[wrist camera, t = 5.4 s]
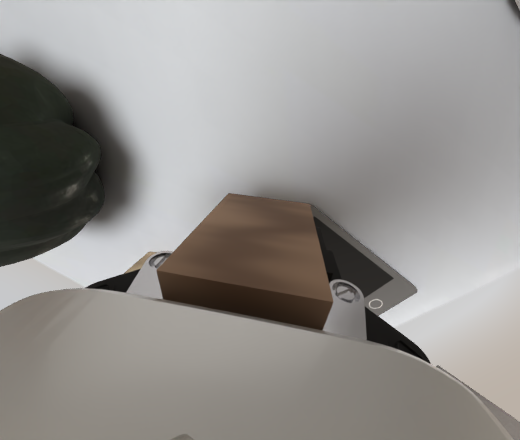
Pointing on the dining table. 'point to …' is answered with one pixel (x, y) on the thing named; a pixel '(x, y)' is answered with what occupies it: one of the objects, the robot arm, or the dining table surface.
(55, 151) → the squash
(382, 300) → the smartphone
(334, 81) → the dining table surface
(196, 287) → the walnut block
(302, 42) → the dining table surface
